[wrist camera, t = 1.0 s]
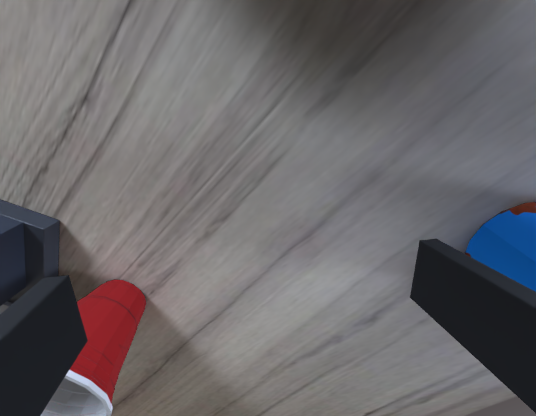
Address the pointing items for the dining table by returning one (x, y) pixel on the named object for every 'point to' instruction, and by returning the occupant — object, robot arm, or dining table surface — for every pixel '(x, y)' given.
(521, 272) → the thermos
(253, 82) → the dining table surface
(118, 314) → the plastic cup
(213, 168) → the dining table surface
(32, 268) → the water dispenser
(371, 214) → the dining table surface
